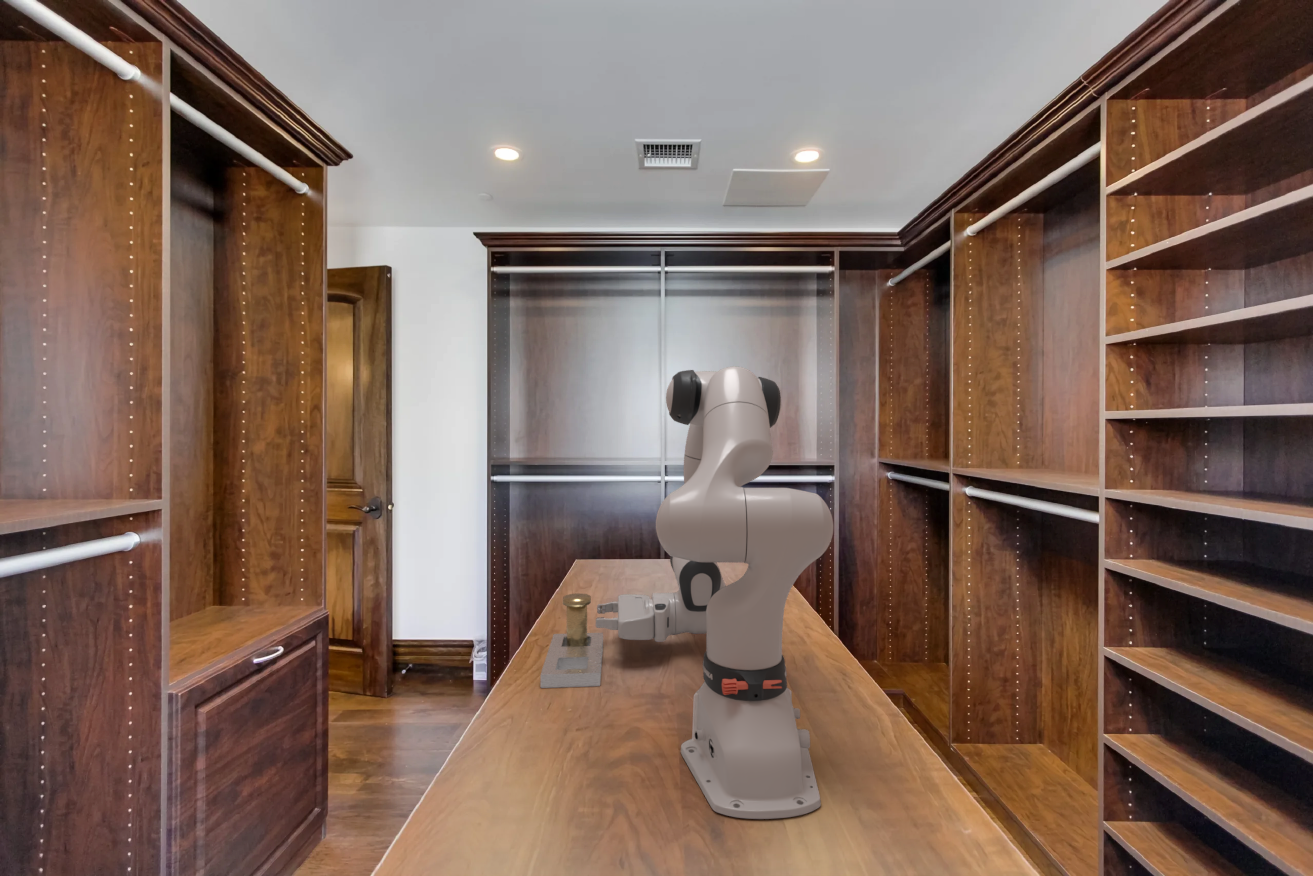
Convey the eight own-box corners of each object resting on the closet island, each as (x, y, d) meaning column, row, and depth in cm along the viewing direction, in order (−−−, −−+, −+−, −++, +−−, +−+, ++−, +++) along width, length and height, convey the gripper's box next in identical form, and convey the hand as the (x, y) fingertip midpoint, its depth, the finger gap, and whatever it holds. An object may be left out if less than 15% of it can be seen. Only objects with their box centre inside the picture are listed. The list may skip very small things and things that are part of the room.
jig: (600, 686, 108) (599, 672, 108) (540, 688, 107) (540, 674, 107) (603, 643, 130) (603, 632, 130) (553, 645, 129) (553, 634, 129)
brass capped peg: (590, 657, 122) (590, 600, 122) (561, 658, 122) (561, 601, 122) (591, 647, 128) (591, 593, 128) (564, 648, 128) (564, 593, 128)
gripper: (656, 586, 136) (597, 588, 135) (664, 613, 116) (594, 615, 115) (656, 613, 136) (598, 615, 135) (664, 645, 116) (594, 647, 115)
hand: (596, 615), depth 125 cm, fingers open, 8 cm apart
